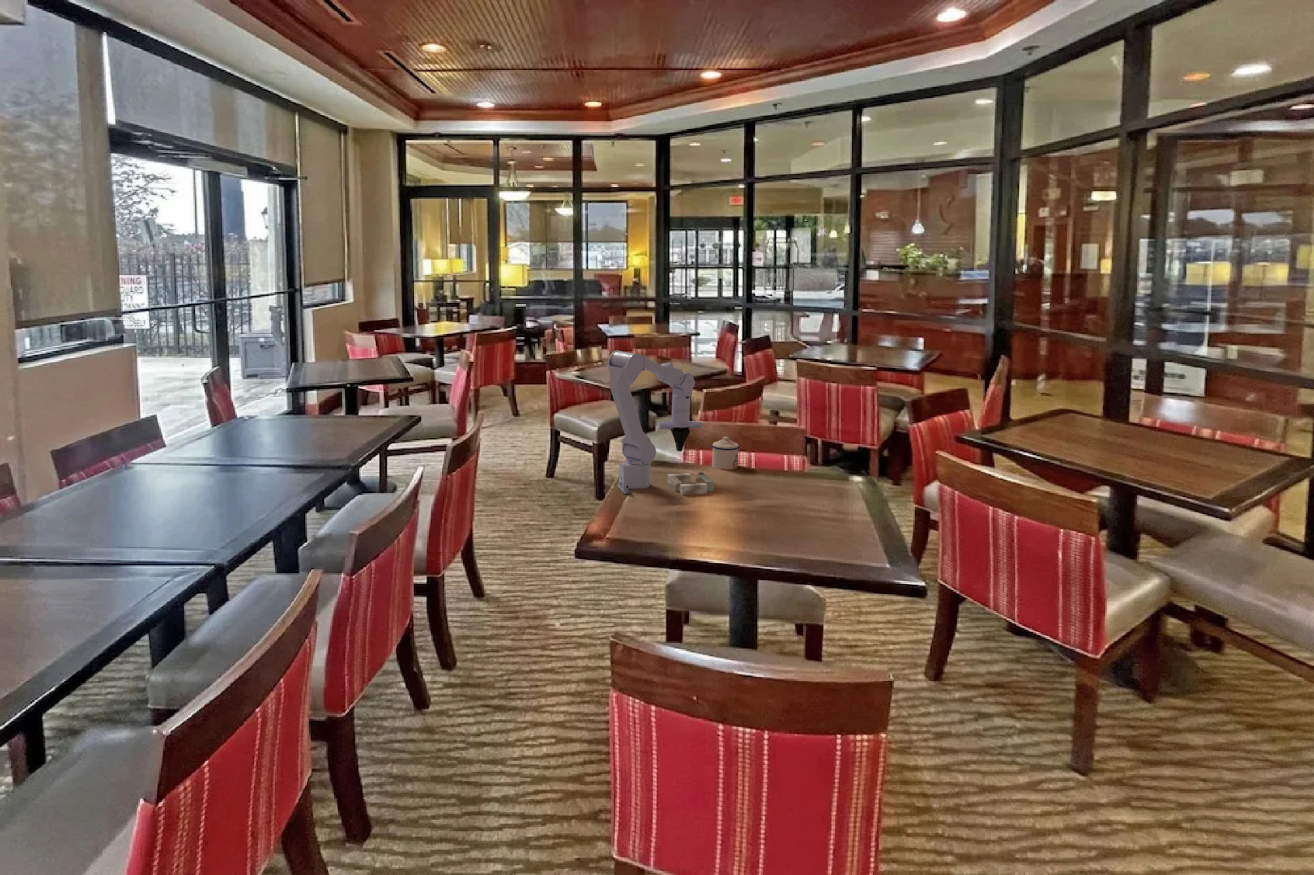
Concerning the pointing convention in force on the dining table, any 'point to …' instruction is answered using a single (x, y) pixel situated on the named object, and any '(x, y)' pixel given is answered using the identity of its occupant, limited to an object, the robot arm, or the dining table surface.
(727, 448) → the teacup with lid
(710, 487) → the green rectangular block
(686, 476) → the cream shallow tray
